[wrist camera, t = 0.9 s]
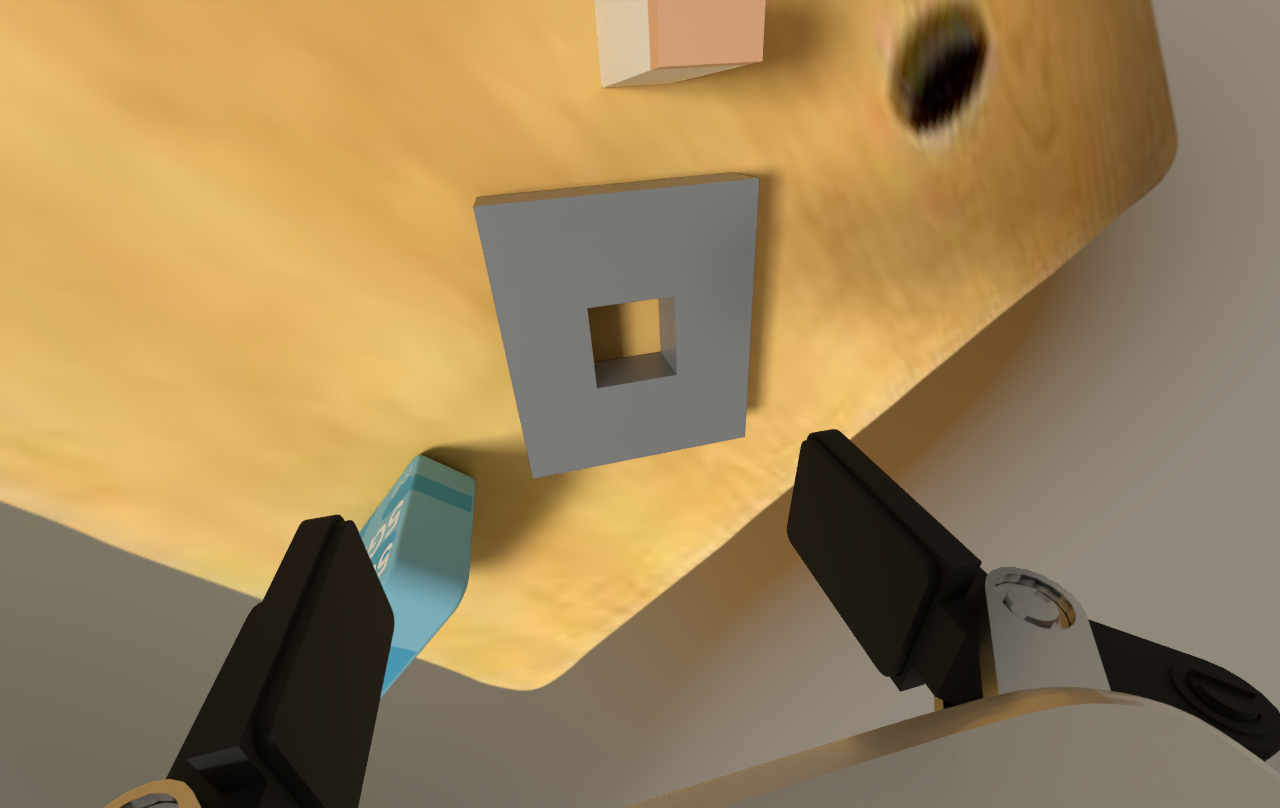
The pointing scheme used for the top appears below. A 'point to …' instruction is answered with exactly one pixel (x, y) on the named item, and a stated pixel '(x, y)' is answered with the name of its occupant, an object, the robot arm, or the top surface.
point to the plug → (676, 39)
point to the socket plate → (613, 274)
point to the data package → (421, 554)
